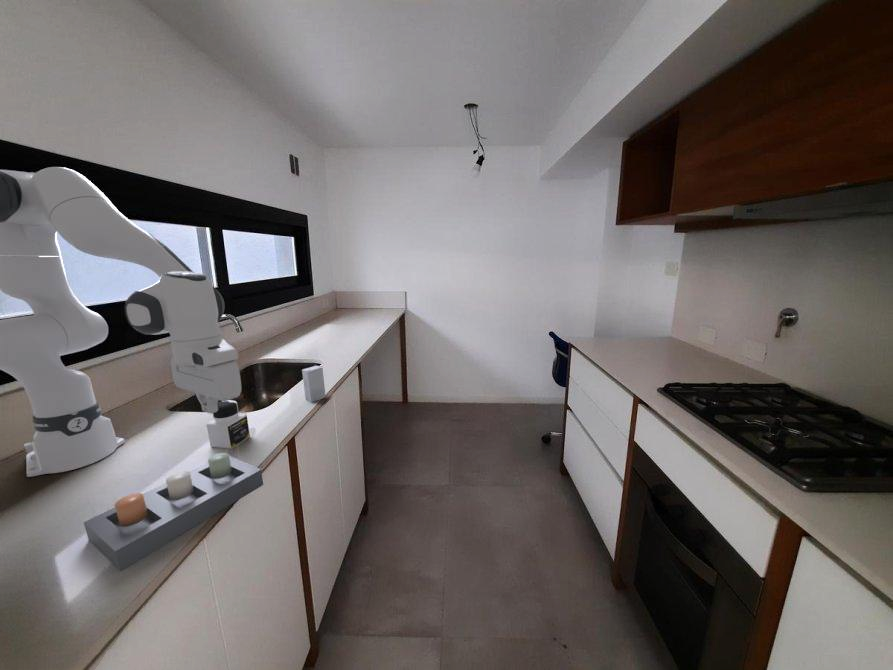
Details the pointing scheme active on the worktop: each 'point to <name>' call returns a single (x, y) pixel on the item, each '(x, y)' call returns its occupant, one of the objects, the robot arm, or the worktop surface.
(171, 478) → the button cream
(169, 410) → the worktop surface
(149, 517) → the tray
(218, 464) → the button sage
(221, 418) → the medicine bottle
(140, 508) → the button terracotta
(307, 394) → the skincare box
